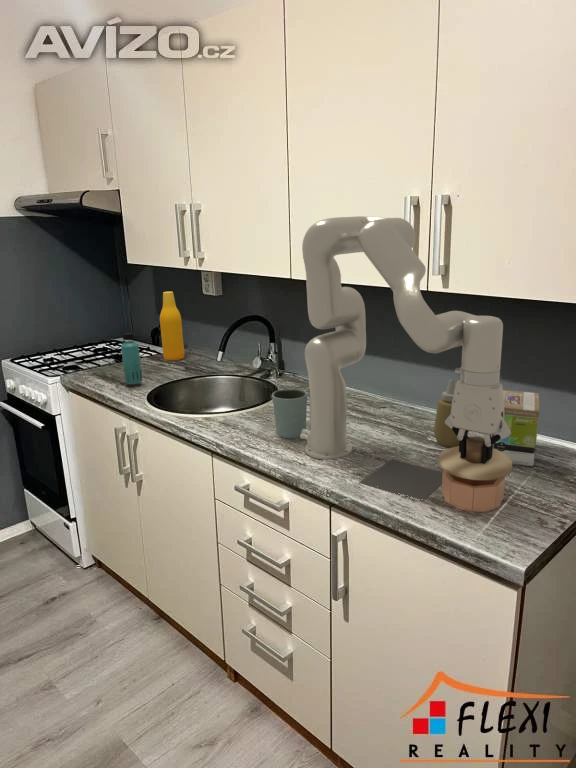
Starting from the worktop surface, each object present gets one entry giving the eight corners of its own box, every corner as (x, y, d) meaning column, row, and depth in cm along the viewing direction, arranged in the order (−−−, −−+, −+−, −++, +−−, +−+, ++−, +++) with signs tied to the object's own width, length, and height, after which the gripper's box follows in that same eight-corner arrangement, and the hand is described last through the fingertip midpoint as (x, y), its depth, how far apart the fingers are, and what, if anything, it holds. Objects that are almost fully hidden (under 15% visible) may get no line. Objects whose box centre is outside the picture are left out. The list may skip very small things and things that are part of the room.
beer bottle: (163, 356, 262) (157, 291, 253) (184, 354, 263) (179, 290, 254) (163, 361, 253) (156, 294, 244) (184, 359, 254) (179, 293, 246)
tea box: (534, 467, 143) (540, 410, 139) (491, 462, 147) (495, 406, 142) (534, 444, 156) (539, 391, 152) (494, 440, 160) (498, 388, 156)
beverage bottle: (132, 389, 216) (126, 335, 210) (121, 386, 220) (115, 333, 214) (146, 384, 221) (141, 332, 215) (135, 381, 225) (129, 330, 219)
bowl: (434, 502, 128) (435, 477, 126) (456, 482, 137) (458, 458, 135) (488, 519, 120) (490, 492, 119) (508, 496, 129) (511, 471, 128)
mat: (358, 484, 137) (358, 482, 137) (392, 460, 149) (392, 459, 149) (421, 503, 127) (421, 501, 127) (452, 476, 139) (452, 475, 139)
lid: (426, 468, 125) (427, 443, 123) (455, 445, 136) (456, 422, 134) (497, 486, 116) (499, 460, 114) (521, 460, 127) (523, 436, 125)
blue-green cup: (296, 441, 163) (295, 401, 159) (266, 435, 168) (264, 395, 165) (314, 429, 171) (313, 390, 168) (285, 424, 176) (283, 386, 173)
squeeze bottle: (427, 444, 158) (429, 380, 153) (443, 436, 164) (446, 374, 158) (454, 452, 153) (457, 386, 147) (469, 443, 158) (473, 379, 153)
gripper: (434, 375, 123) (431, 455, 128) (515, 387, 112) (508, 474, 118) (449, 367, 128) (445, 444, 133) (527, 378, 118) (520, 462, 123)
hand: (475, 458), depth 126 cm, fingers closed on lid, 4 cm apart
